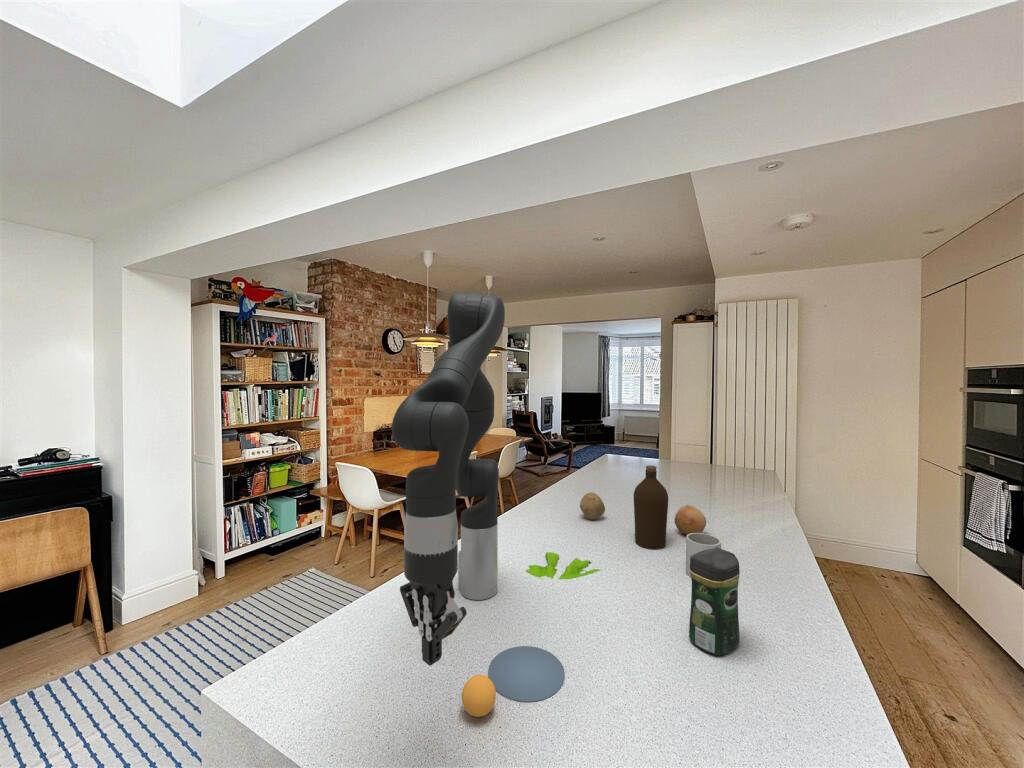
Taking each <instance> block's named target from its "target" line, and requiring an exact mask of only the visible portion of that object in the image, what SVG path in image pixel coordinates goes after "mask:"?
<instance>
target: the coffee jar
mask: <svg viewBox="0 0 1024 768" xmlns="http://www.w3.org/2000/svg"><path fill="white" fill-rule="evenodd" d="M689 570H690V575H691V578H690V579H691V595H690V598H691V600H690V613H689V622H688V623H689V624H688V625H689V626H688V627H689V628H688V629H689V630H688V638H689V639H690V641H691V642H692V644H693V645H695V646H696V647H698V649H699V650H701V651H703V652H706V653H708V654H711V655H712V654H713V655H716V656H722V655H726V654H728V653H730V652H732V651H733V650H734V649H735V648H737V646H738V645H739V643H740V623H739V622H740V621H739V600H738V599H739V589H738V588H739V582H740V581H739V580H740V573H741V572H740V563H739V560H738V558H737V556H736V555H735V554H734V553H733V552H731V551H728V550H725V549H723V548H721V549H720V548H717V547H715V548H713V549H707V550H704V551H701V552H698V553H696V554H694V555H692V556H691V557H690V569H689Z"/></svg>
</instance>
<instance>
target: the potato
mask: <svg viewBox="0 0 1024 768" xmlns="http://www.w3.org/2000/svg"><path fill="white" fill-rule="evenodd" d="M579 508H580V510H581V512H582V513H583V515H584V516H585V517H586V518H587V519H589V520H591V521H592V520H594V521H595V520H596V519H597V518H599V517H601V516H603V515H604V514H605V512H606V507H605V504H604V501H603V500H602V498H601V497H600V496H599V495H598V494H597V493H595V492H587V493H585V494H584V495H583V496H582V498H581V500H580V503H579Z"/></svg>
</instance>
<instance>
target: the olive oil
mask: <svg viewBox="0 0 1024 768" xmlns="http://www.w3.org/2000/svg"><path fill="white" fill-rule="evenodd" d="M657 473H658V472H657V466H655V465H645V477H644V478H643V479H642V480H641V481H640V483H638V484H637V485H636V487H635V489H634V491H633V508H634V509H633V513H634V514H633V517H634V542H635V544H636V545H637V546H639V547H641V548H643V549H647V550H662V549H664V548H665V547H666V546H667V524H668V512H669V511H668V509H669V494H668V491H667V488H666V487H665V486H664V485H663V484H662V483H661V482H660V481H659V479H658V478H657Z"/></svg>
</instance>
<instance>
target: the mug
mask: <svg viewBox="0 0 1024 768" xmlns="http://www.w3.org/2000/svg"><path fill="white" fill-rule="evenodd" d="M685 541H686V544H685V546H686V547H685V575H687V577H688V576H689V578H690V579H691V575H690V570H689V569H690V557H691V556H692V555H694V554H696V553H698V552H701V551H704V550H707V549H713V548H715V547H717V548H720V549H722V540H721V539H720V538H719V537H717V536H715V535H712V534H709V533H703V532H702V533H690V534H688V535H686V540H685Z"/></svg>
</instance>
